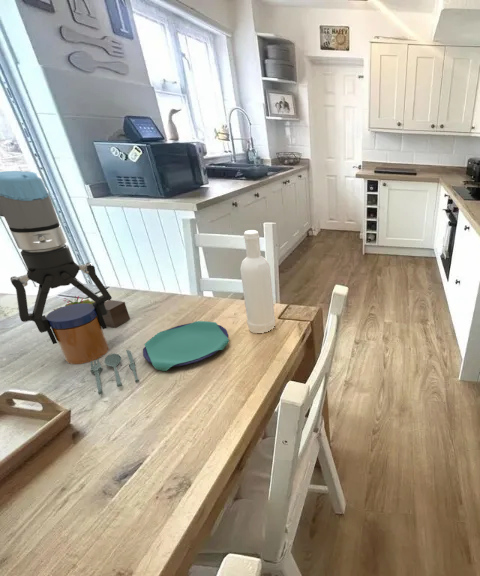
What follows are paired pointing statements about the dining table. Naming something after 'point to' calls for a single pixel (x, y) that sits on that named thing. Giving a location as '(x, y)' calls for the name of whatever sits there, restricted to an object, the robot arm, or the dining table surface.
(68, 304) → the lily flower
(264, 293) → the bottle
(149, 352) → the cutlery set
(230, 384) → the dining table surface
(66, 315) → the lid
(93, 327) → the jar
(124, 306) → the dark brown block
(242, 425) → the dining table surface
